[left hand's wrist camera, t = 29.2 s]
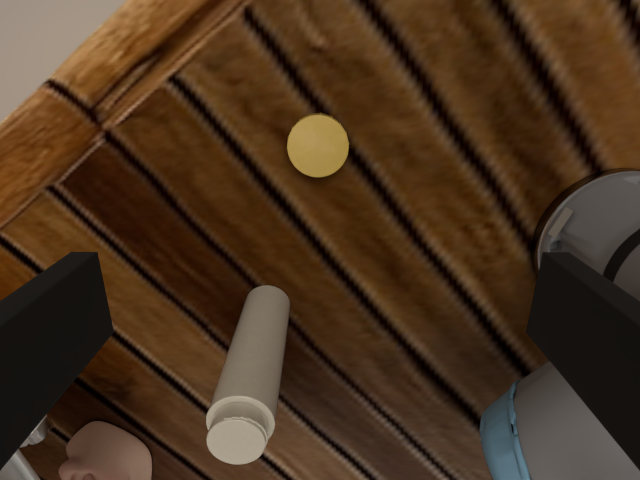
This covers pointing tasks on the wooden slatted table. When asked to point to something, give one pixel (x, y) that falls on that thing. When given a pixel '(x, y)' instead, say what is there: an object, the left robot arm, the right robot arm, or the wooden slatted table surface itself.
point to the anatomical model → (106, 455)
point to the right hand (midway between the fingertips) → (76, 473)
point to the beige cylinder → (250, 379)
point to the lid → (318, 145)
